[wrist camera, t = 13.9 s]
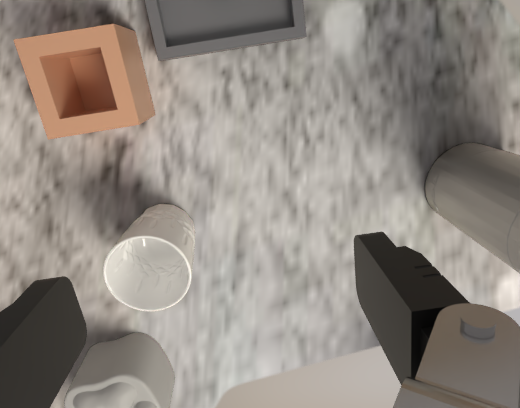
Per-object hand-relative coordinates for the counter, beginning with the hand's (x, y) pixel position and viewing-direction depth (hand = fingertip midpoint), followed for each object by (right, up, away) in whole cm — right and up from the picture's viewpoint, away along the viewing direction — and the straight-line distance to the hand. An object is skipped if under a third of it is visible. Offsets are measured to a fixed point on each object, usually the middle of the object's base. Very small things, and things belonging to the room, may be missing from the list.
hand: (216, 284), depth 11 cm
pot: (-14, +15, +27) cm, 34 cm away
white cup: (-10, -1, +33) cm, 35 cm away
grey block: (-16, -21, +40) cm, 48 cm away
